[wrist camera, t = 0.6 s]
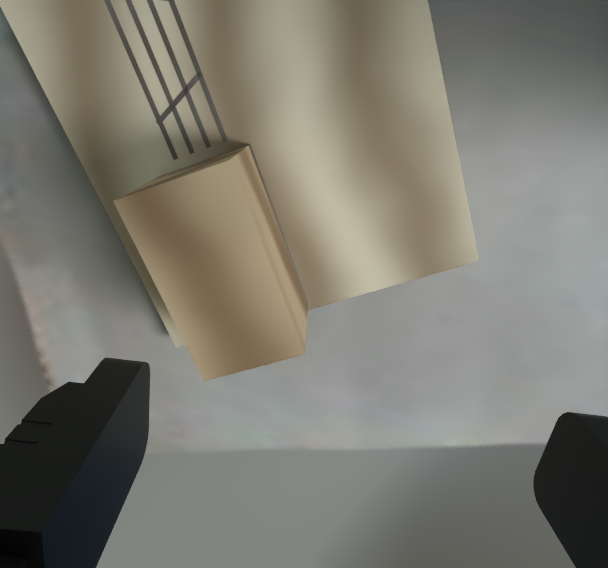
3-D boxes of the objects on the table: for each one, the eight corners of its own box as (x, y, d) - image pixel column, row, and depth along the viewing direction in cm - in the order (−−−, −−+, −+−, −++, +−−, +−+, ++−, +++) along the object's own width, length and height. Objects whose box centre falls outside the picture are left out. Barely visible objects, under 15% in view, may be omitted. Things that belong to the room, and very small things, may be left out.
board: (360, -303, 17) (362, -331, 16) (472, 253, 25) (479, 261, 24) (-40, -102, 20) (-62, -113, 18) (181, 337, 28) (176, 347, 27)
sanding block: (250, 143, 22) (229, 160, 17) (308, 301, 25) (304, 354, 20) (158, 176, 23) (112, 200, 18) (226, 325, 26) (204, 381, 21)
